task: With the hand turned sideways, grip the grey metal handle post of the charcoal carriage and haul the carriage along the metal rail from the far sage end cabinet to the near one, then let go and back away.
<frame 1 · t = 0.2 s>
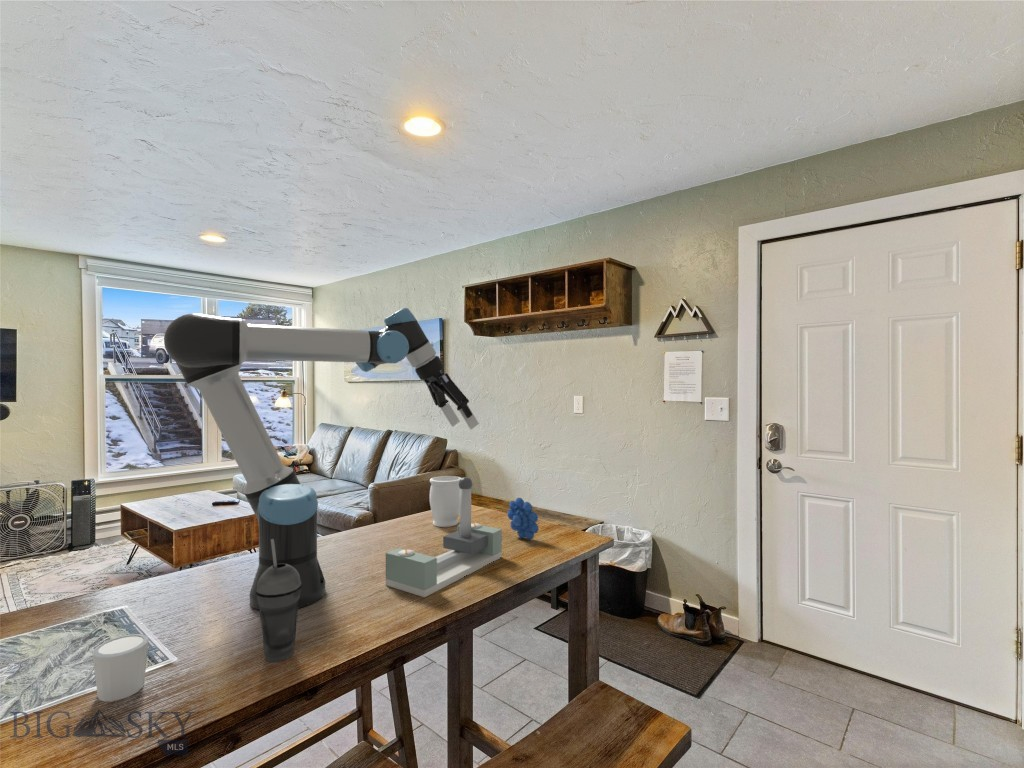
hand: (465, 425, 145), 34 cm above the table, tool tilted 35°, fingers open, 13 cm apart
white cylinder: (121, 691, 78), on the table
rail stand: (447, 570, 127), on the table
grapes: (520, 539, 152), on the table
jar: (445, 524, 168), on the table
beverage cup: (279, 656, 88), on the table
carriage: (465, 512, 133), point 13 cm above the table, slide at 7.0 cm
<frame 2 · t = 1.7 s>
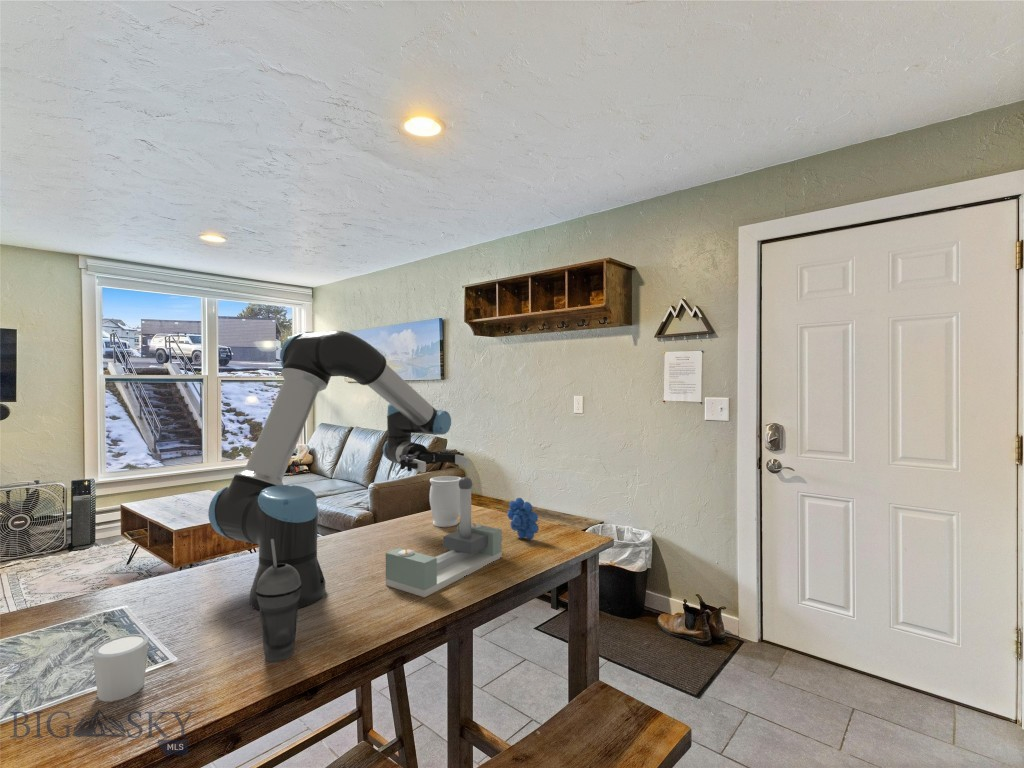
hand: (447, 464, 140), 24 cm above the table, tool horizontal, fingers open, 13 cm apart
nothing on the table moved.
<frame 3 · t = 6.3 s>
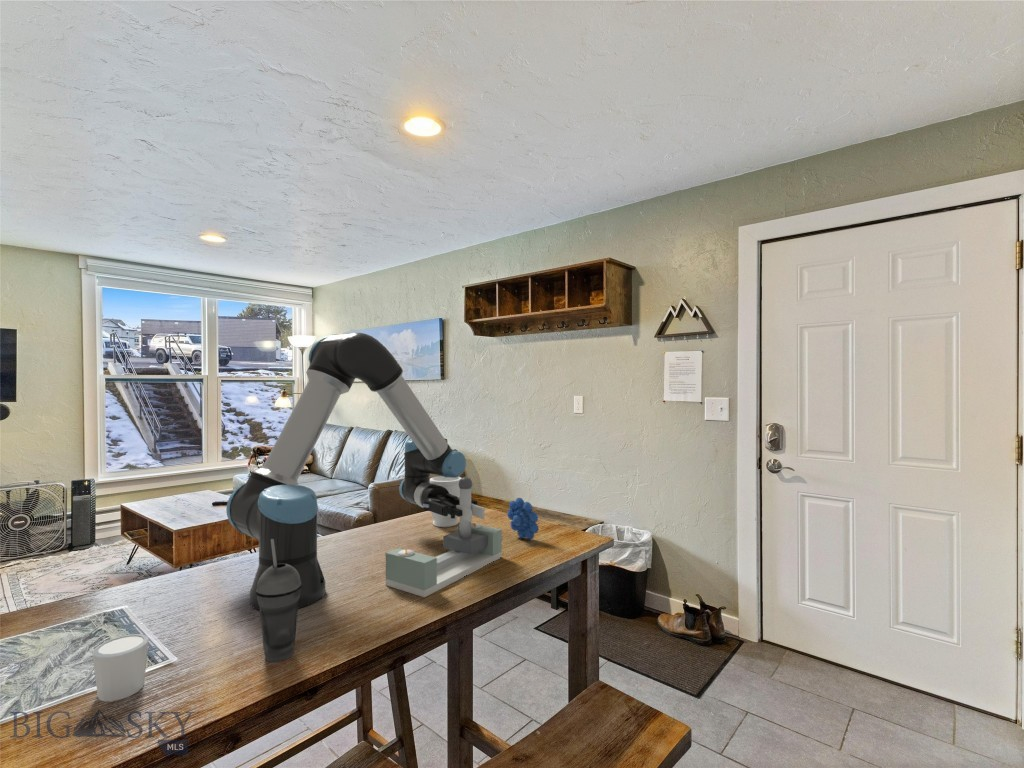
hand: (476, 514, 129), 13 cm above the table, tool horizontal, fingers closed on carriage, 3 cm apart
carriage: (465, 512, 133), point 13 cm above the table, slide at 7.0 cm, touching gripper
everything else where it was.
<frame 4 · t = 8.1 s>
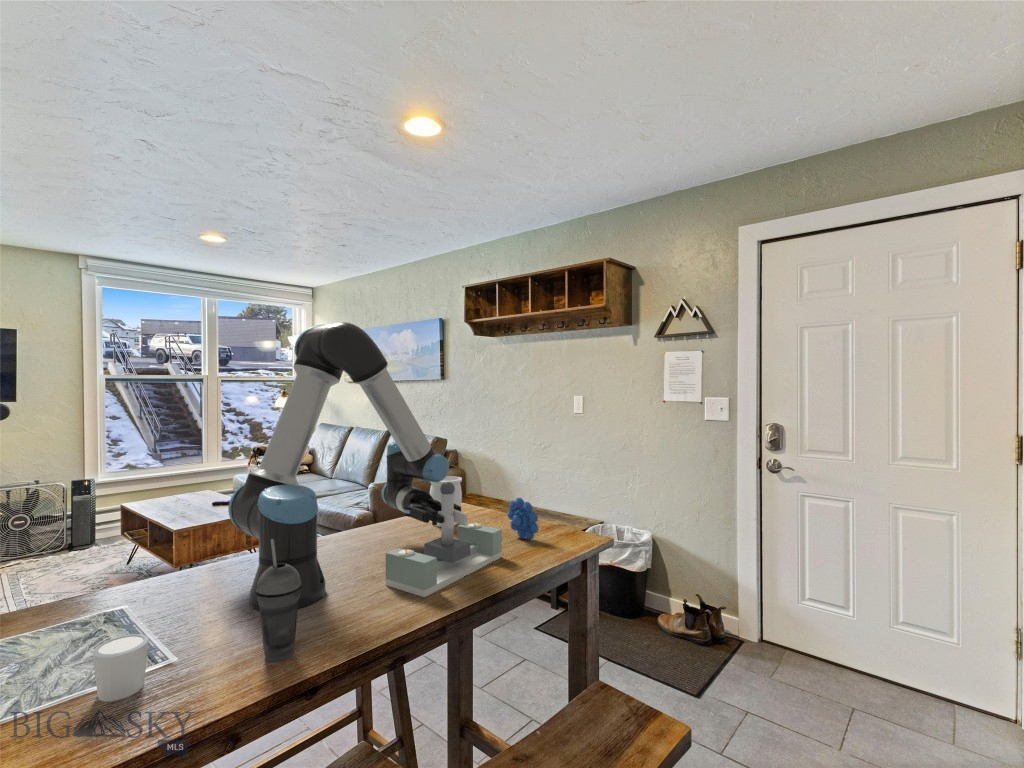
hand: (459, 521, 122), 13 cm above the table, tool horizontal, fingers closed on carriage, 3 cm apart
carriage: (447, 518, 127), point 13 cm above the table, slide at -0.2 cm, touching gripper
everything else where it was.
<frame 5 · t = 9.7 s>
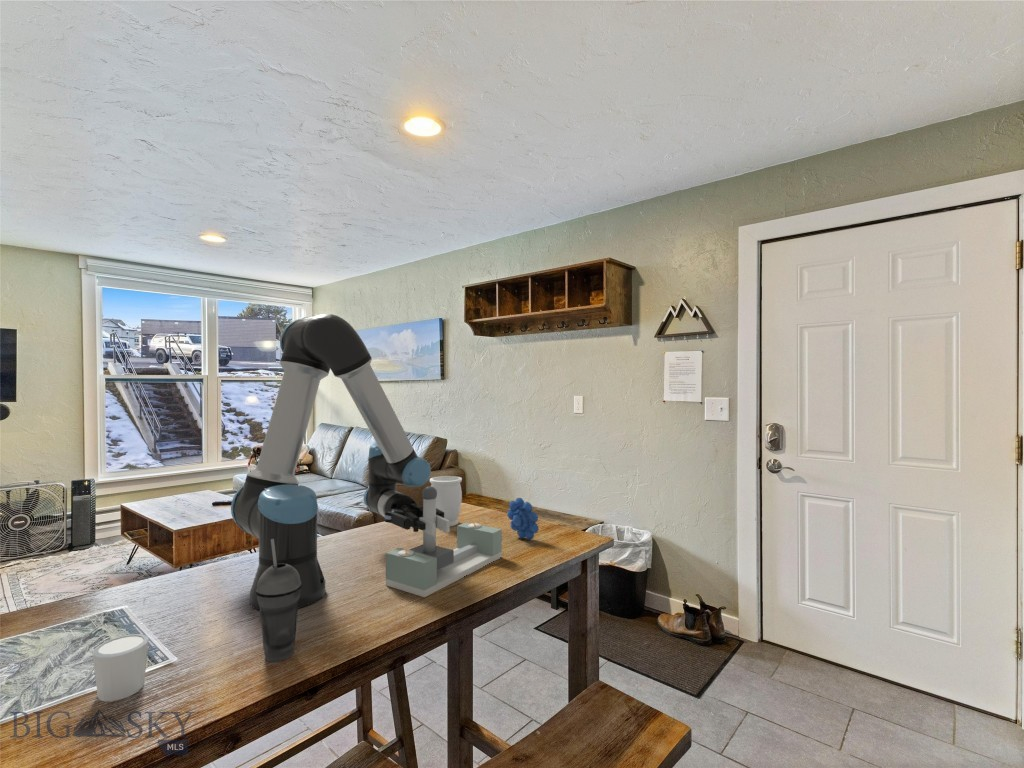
hand: (441, 528, 117), 13 cm above the table, tool horizontal, fingers closed on carriage, 3 cm apart
carriage: (429, 524, 121), point 13 cm above the table, slide at -6.8 cm, touching gripper
everything else where it was.
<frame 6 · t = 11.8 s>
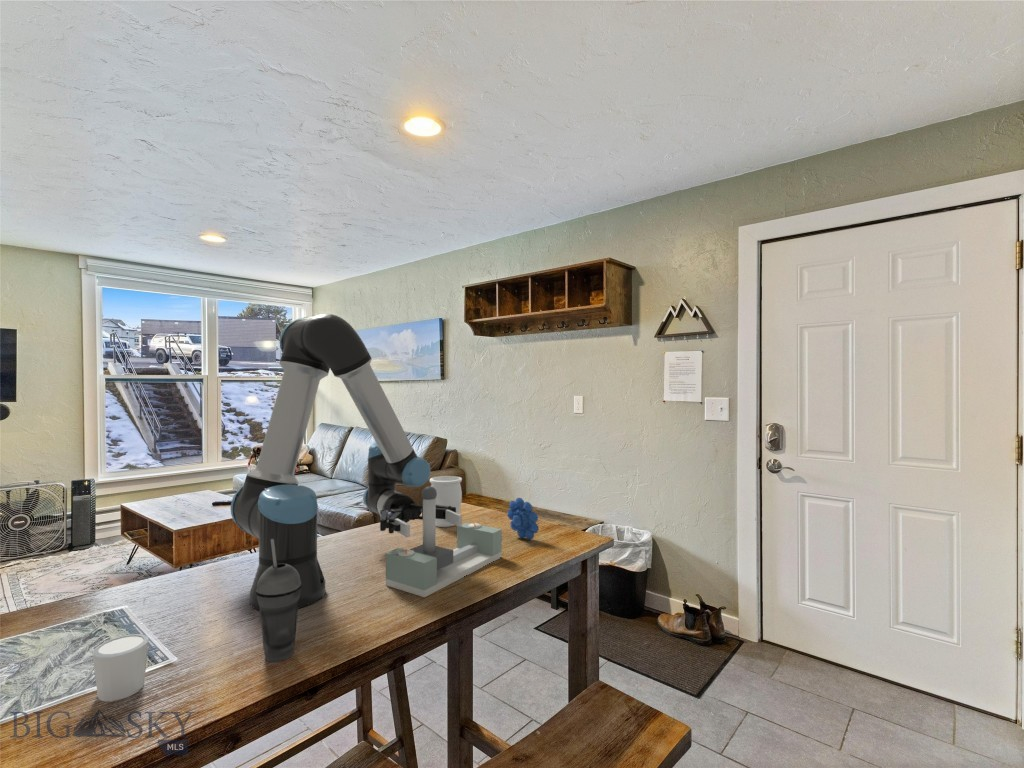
hand: (435, 525, 119), 14 cm above the table, tool horizontal, fingers open, 13 cm apart
carriage: (429, 524, 121), point 13 cm above the table, slide at -6.9 cm
everything else where it was.
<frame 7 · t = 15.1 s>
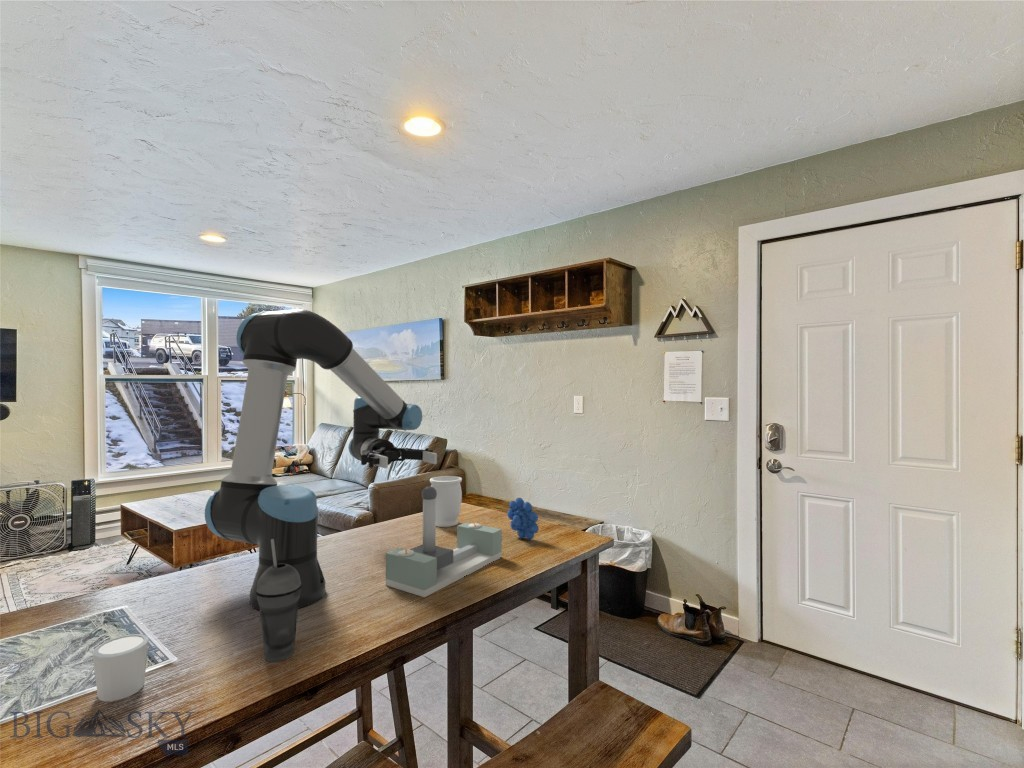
hand: (411, 460, 129), 27 cm above the table, tool horizontal, fingers open, 13 cm apart
nothing on the table moved.
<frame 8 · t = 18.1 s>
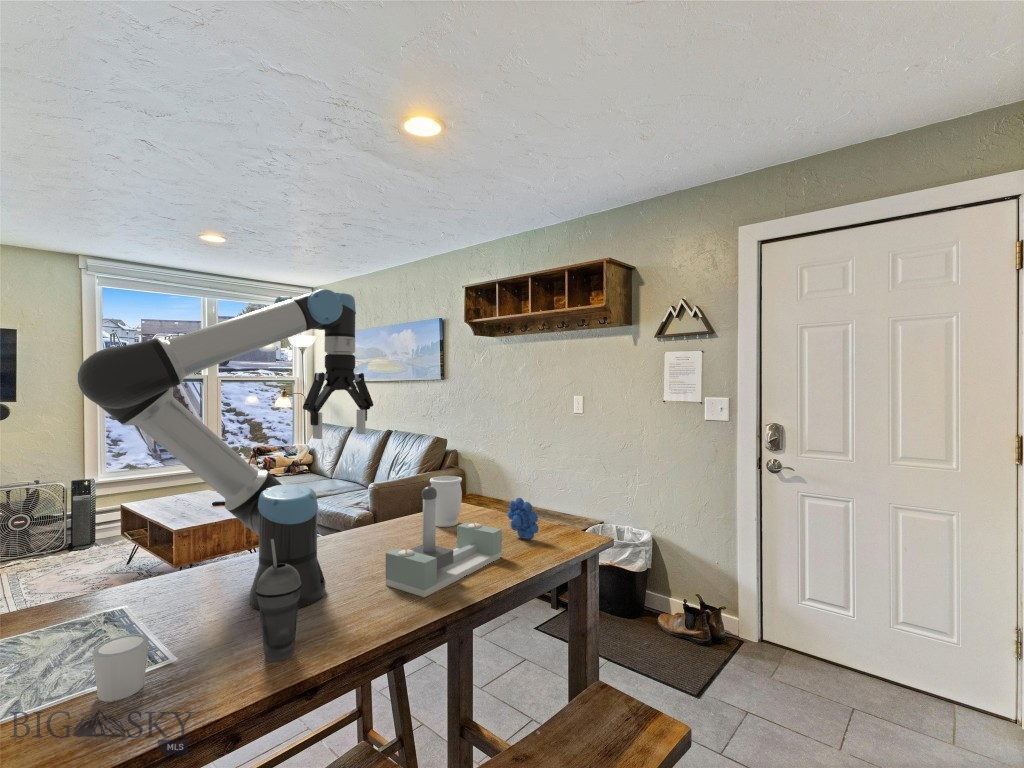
hand: (340, 436, 132), 33 cm above the table, tool pointing down, fingers open, 13 cm apart
nothing on the table moved.
at the end: carriage slide at -6.9 cm; the gripper is holding nothing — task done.
